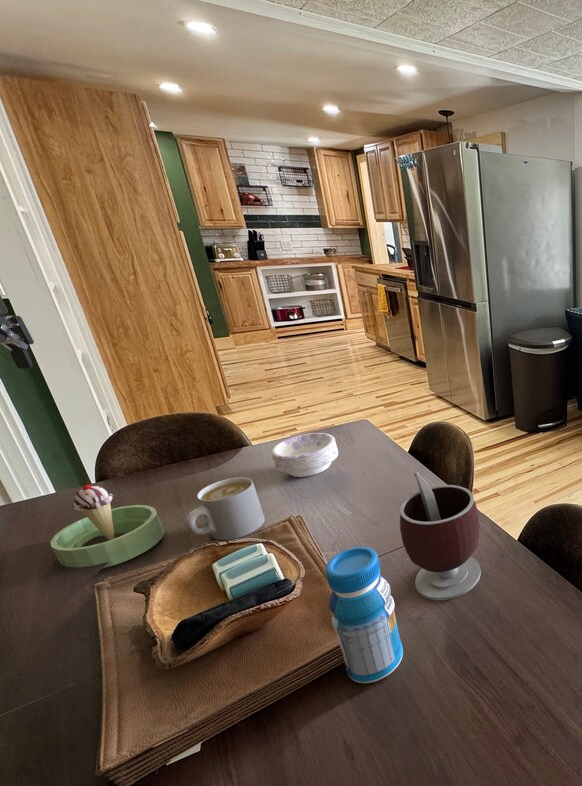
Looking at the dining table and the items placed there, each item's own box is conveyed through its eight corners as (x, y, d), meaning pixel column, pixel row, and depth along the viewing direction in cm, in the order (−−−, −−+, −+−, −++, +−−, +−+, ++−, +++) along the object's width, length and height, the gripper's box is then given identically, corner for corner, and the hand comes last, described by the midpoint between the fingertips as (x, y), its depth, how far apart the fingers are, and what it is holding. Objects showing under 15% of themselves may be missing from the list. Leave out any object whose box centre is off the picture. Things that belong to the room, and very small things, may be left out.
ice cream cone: (89, 552, 98) (57, 490, 92) (120, 536, 103) (92, 476, 97) (109, 557, 96) (78, 494, 91) (140, 540, 101) (113, 479, 96)
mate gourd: (498, 578, 92) (489, 490, 85) (430, 615, 84) (413, 521, 76) (460, 542, 103) (449, 460, 95) (396, 571, 94) (378, 484, 86)
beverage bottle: (370, 695, 69) (342, 589, 62) (334, 671, 73) (304, 568, 65) (416, 653, 76) (396, 553, 69) (381, 632, 80) (358, 535, 72)
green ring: (41, 581, 91) (27, 555, 89) (98, 533, 105) (87, 510, 103) (138, 567, 95) (126, 543, 92) (180, 523, 109) (171, 501, 106)
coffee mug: (254, 509, 114) (242, 473, 110) (272, 523, 109) (260, 486, 105) (185, 537, 104) (169, 498, 100) (201, 554, 98) (185, 514, 95)
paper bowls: (285, 489, 122) (277, 462, 119) (273, 468, 133) (265, 442, 130) (347, 470, 132) (341, 444, 129) (332, 451, 142) (326, 427, 139)
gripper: (-24, 286, 93) (15, 365, 99) (-103, 296, 80) (-52, 387, 86) (23, 285, 95) (59, 363, 101) (-46, 295, 82) (-1, 384, 88)
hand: (7, 374), depth 94 cm, fingers open, 8 cm apart
